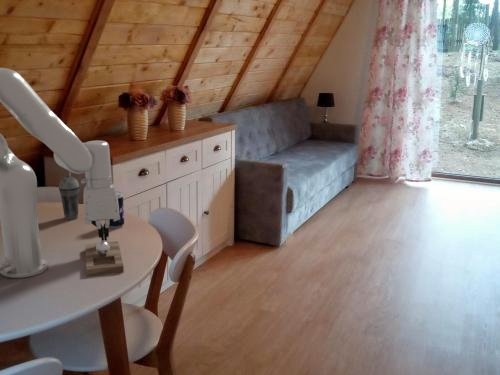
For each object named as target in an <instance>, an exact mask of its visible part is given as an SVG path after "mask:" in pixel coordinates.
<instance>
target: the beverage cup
mask: <svg viewBox="0 0 500 375" xmlns="http://www.w3.org/2000/svg"><path fill="white" fill-rule="evenodd" d="M71 173H72V172H71V171H69V170H68V175H69V176H65V177H63V178H62V179H61V180H60V182H59V184H58V185H59V186H58V190H59V194H60V198H61V203H62V208H63V209H62V210H63V216H64V219H65V220H67V221H72V220H73V221H74V220H77V219H78V218H79V198H80V197H79V193H80V184H79V181H78V179H76V178H75V177H73V176H71V175H72V174H71Z"/></svg>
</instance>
